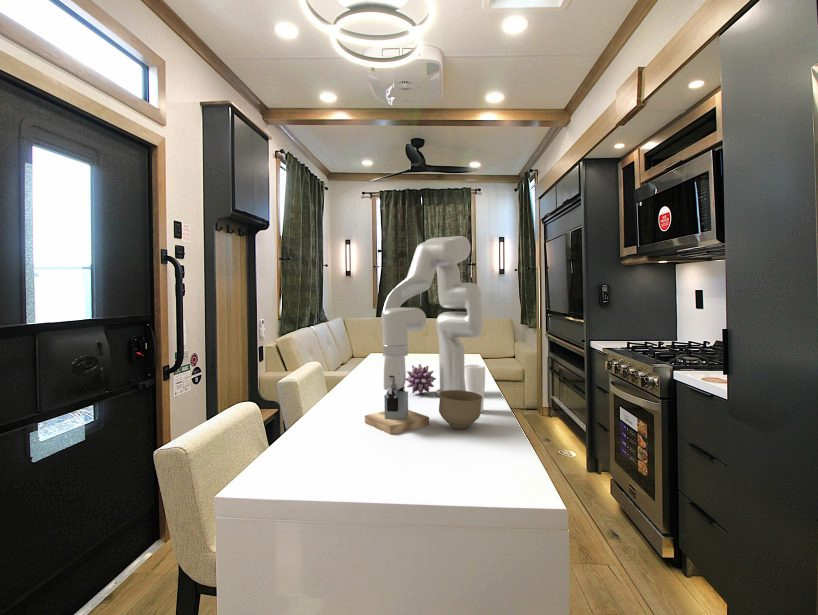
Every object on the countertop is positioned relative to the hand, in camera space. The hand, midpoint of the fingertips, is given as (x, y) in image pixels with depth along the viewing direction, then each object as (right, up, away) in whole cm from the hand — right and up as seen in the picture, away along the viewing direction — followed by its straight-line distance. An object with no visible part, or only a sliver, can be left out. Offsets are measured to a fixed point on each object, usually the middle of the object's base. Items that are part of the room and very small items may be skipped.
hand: (396, 406), depth 139 cm
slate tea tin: (0, -3, 0) cm, 3 cm away
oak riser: (0, -6, 0) cm, 6 cm away
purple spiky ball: (+8, -4, +38) cm, 39 cm away
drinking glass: (+26, -4, +12) cm, 29 cm away
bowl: (+19, -5, -4) cm, 20 cm away
